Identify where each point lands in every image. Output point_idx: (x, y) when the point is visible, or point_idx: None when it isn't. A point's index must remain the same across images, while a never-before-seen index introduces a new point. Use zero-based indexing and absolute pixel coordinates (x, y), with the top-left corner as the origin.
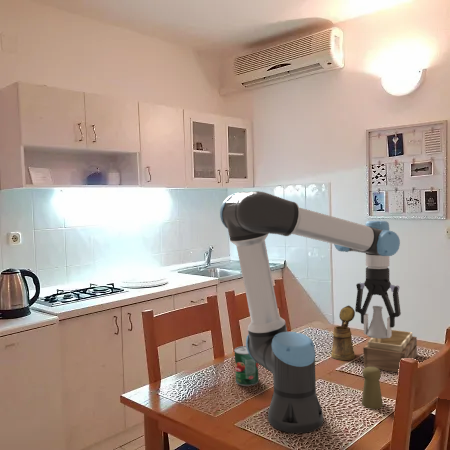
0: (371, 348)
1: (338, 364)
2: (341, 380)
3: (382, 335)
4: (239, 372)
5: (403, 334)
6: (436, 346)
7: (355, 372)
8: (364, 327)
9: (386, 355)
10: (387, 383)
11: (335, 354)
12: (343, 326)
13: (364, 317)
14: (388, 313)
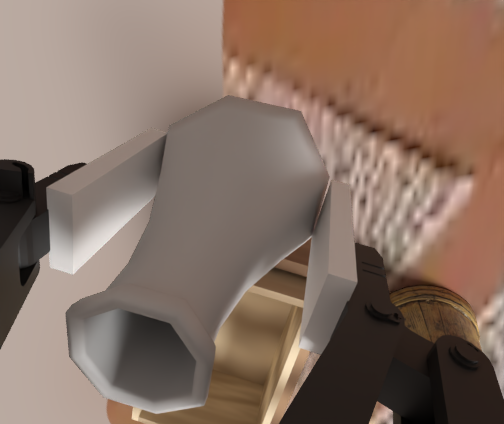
0: (301, 268)
1: (450, 240)
2: (458, 44)
3: (194, 122)
4: None
5: (169, 414)
6: (111, 412)
7: (379, 161)
8: (344, 208)
9: None
10: (243, 61)
11: (463, 309)
12: None
13: (346, 262)
14: (17, 224)
